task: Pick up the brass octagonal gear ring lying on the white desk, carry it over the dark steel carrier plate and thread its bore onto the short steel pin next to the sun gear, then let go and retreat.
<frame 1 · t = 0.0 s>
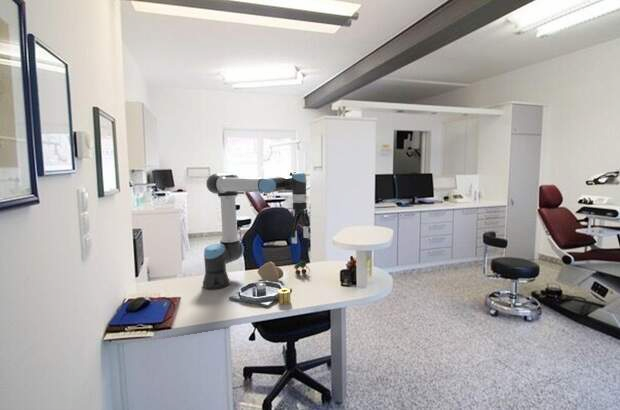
hand: (300, 240, 183), 28 cm above the table, fingers open, 13 cm apart
planet gear: (284, 302, 170), on the table
brown rounded piece: (271, 280, 203), on the table
carrier: (261, 295, 180), on the table
binoculars: (301, 275, 211), on the table
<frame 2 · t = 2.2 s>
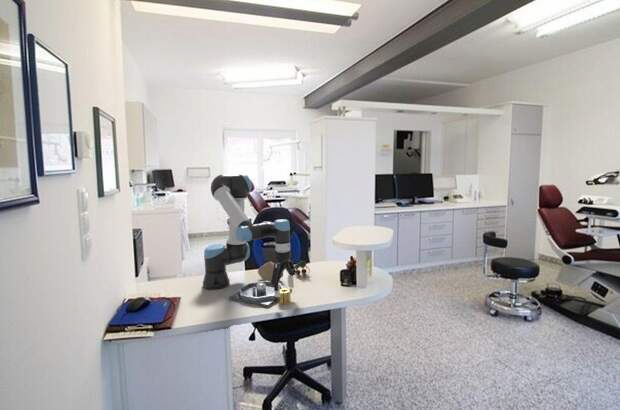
hand: (284, 291, 169), 5 cm above the table, fingers open, 13 cm apart
nothing on the table moved.
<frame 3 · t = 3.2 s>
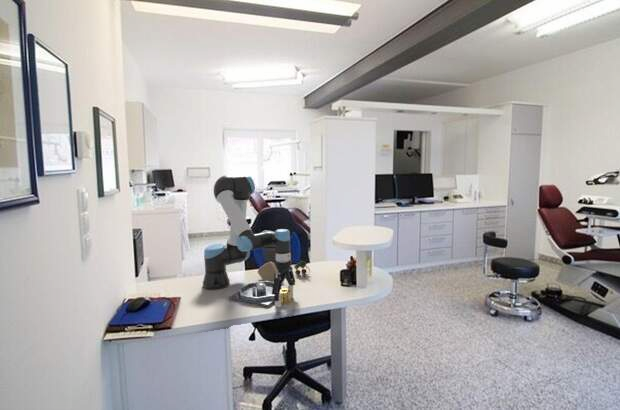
hand: (284, 301, 170), 0 cm above the table, fingers open, 12 cm apart
nothing on the table moved.
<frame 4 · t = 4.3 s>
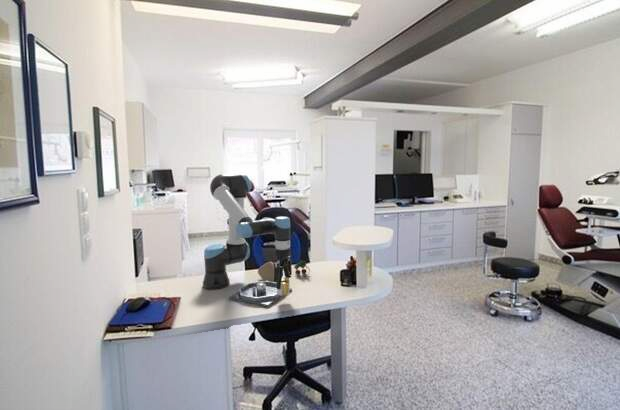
hand: (283, 292, 170), 5 cm above the table, fingers closed on planet gear, 6 cm apart
planet gear: (283, 292, 170), point 5 cm above the table, touching gripper
everything else where it was.
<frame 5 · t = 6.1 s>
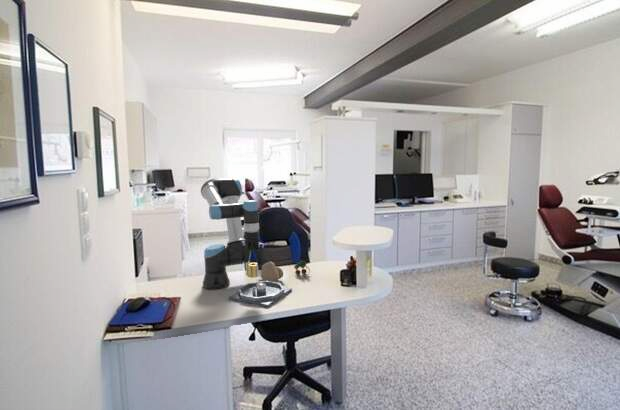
hand: (253, 275, 172), 13 cm above the table, fingers closed on planet gear, 6 cm apart
planet gear: (253, 275, 172), point 13 cm above the table, touching gripper
everything else where it was.
when the fingers open (3 cm above the table, at t = 7.9 s): planet gear drops 1 cm, resting on carrier.
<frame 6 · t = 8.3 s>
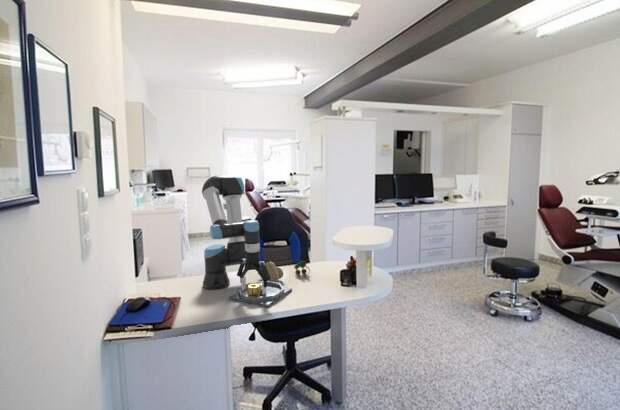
hand: (254, 291, 173), 4 cm above the table, fingers open, 12 cm apart
planet gear: (254, 296, 174), point 1 cm above the table, touching carrier
everything else where it was.
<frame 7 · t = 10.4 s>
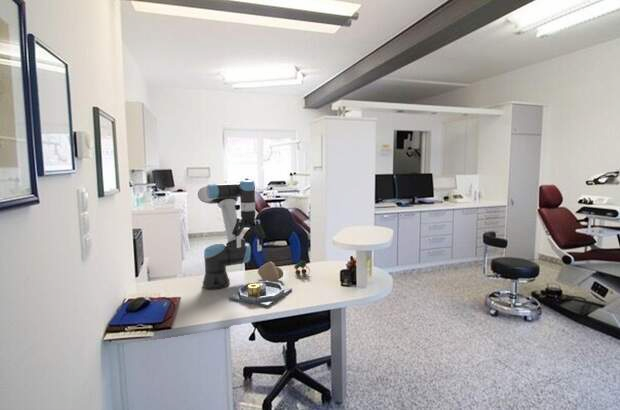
hand: (249, 249, 179), 25 cm above the table, fingers open, 13 cm apart
nothing on the table moved.
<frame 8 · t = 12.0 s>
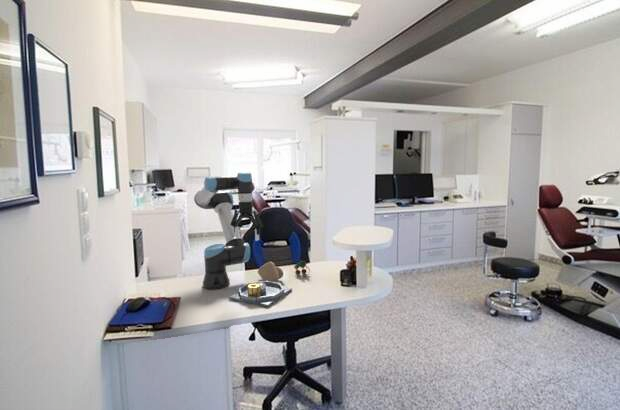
hand: (247, 239, 185), 29 cm above the table, fingers open, 13 cm apart
nothing on the table moved.
at the end: planet gear 0.1 cm from the target spot on the carrier, point 1.5 cm above the carrier's base; planet gear tilted 0°; the gripper is holding nothing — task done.
